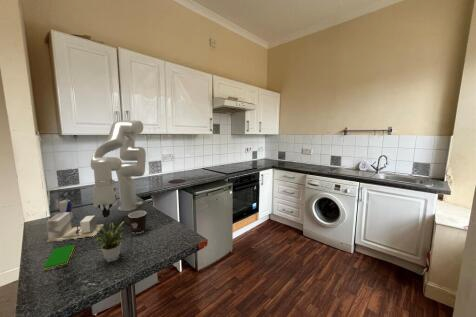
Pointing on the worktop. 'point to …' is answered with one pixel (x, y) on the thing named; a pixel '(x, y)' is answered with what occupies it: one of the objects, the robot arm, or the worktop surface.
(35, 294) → the worktop surface
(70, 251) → the dish sponge
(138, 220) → the coffee mug
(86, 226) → the white rectangular block
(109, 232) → the house plant
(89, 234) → the base
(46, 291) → the worktop surface
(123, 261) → the worktop surface
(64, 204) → the energy drink
